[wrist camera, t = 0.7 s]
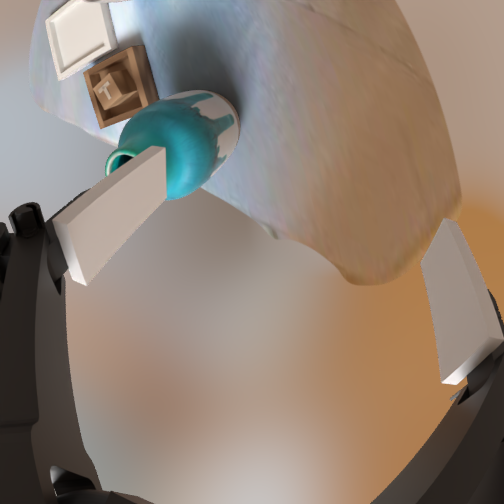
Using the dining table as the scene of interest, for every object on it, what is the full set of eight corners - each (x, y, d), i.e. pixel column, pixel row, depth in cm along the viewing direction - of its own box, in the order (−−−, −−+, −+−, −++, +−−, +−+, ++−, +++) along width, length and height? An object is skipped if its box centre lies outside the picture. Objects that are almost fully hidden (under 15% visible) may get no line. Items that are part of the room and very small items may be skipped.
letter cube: (110, 83, 36) (92, 89, 33) (126, 69, 34) (109, 73, 31) (121, 103, 38) (104, 110, 35) (138, 89, 36) (121, 95, 33)
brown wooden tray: (96, 69, 35) (83, 72, 33) (144, 45, 32) (131, 46, 30) (112, 123, 41) (100, 129, 38) (161, 106, 37) (150, 111, 35)
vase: (252, 157, 39) (193, 236, 25) (183, 157, 42) (101, 228, 27) (246, 81, 33) (170, 109, 18) (172, 89, 35) (71, 128, 21)
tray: (52, 20, 29) (45, 21, 28) (103, -18, 25) (95, -19, 24) (66, 78, 37) (58, 80, 35) (118, 47, 32) (111, 48, 31)
